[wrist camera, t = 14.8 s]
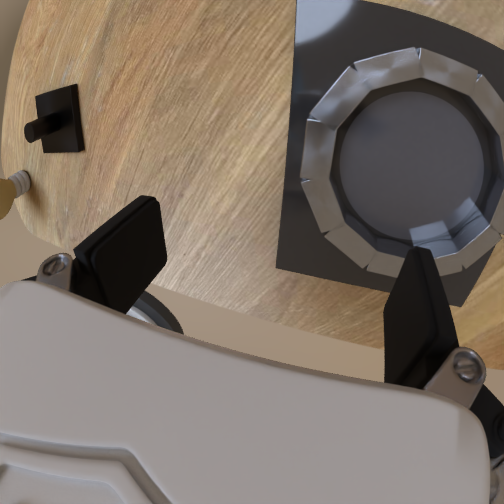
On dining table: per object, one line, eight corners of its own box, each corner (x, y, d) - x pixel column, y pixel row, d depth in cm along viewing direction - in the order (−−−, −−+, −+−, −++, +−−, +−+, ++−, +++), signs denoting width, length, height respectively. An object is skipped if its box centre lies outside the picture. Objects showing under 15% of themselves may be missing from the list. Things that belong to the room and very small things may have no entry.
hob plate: (459, 300, 24) (461, 308, 23) (277, 262, 28) (275, 268, 28) (536, 73, 10) (542, 74, 9) (298, -4, 14) (296, -8, 13)
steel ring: (319, 30, 15) (315, 24, 13) (527, 103, 11) (544, 109, 9) (294, 235, 25) (288, 253, 23) (465, 277, 21) (471, 296, 19)
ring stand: (84, 149, 28) (53, 166, 24) (49, 150, 29) (20, 165, 25) (77, 83, 23) (41, 93, 19) (40, 94, 24) (10, 105, 21)
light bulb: (14, 174, 35) (-29, 203, 27) (22, 153, 31) (-28, 183, 24) (31, 202, 37) (-12, 235, 29) (40, 184, 34) (-9, 218, 26)
